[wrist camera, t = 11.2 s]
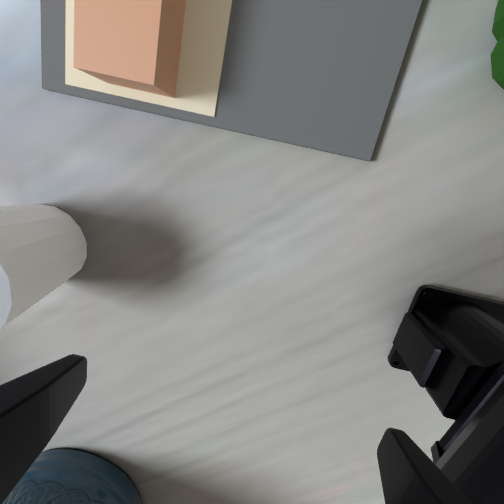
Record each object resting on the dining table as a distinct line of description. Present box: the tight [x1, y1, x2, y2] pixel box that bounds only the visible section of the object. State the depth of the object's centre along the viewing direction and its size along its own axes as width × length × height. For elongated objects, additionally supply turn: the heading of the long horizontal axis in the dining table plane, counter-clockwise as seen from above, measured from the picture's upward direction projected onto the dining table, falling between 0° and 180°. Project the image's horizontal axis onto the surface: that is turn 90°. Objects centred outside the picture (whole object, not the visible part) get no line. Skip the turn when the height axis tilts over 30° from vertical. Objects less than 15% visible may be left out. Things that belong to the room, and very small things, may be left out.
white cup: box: [0, 204, 87, 329], centre depth 17 cm, size 7×7×7 cm
